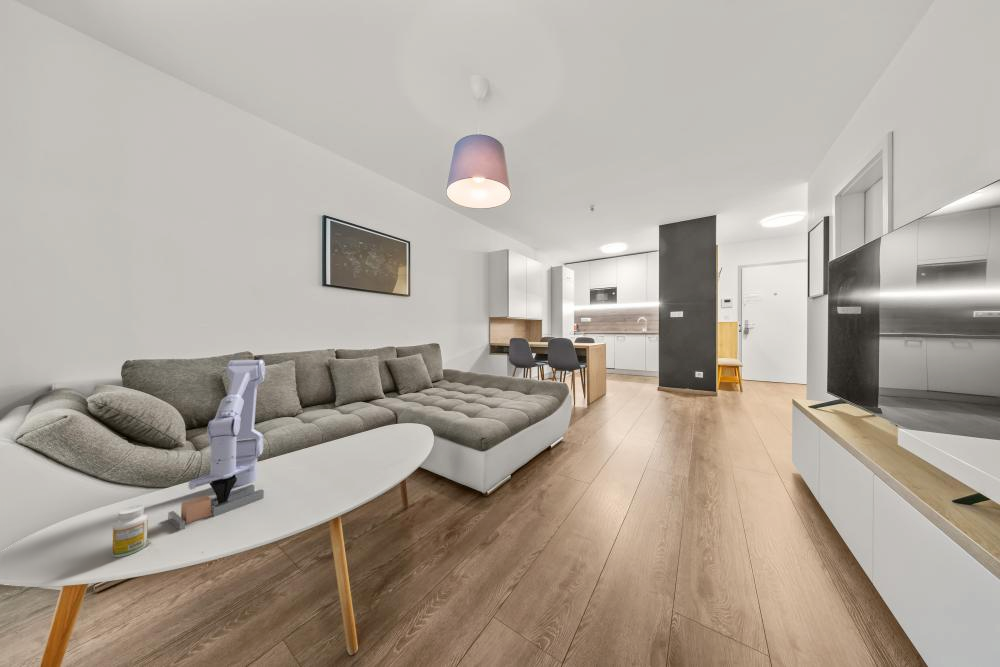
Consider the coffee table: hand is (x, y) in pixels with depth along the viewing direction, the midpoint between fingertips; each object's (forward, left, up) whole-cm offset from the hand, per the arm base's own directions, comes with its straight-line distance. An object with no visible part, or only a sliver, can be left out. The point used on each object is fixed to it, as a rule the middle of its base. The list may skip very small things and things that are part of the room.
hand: (222, 503), depth 91 cm
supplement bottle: (+3, -18, -2) cm, 19 cm away
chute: (0, +1, -2) cm, 2 cm away
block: (0, -6, -1) cm, 6 cm away
